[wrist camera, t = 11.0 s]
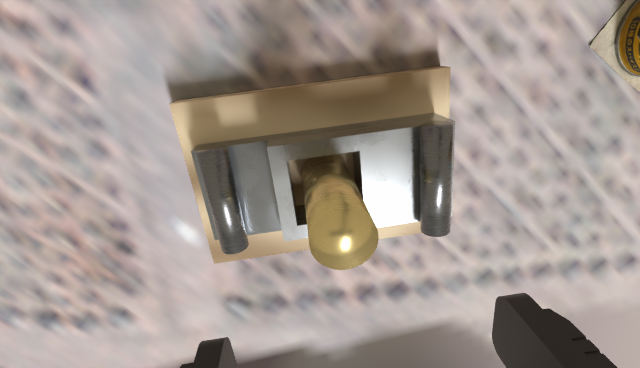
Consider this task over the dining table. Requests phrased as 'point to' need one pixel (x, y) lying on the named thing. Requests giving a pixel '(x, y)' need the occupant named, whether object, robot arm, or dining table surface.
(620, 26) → the condiment
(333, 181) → the brass pin
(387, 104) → the clamp block fixture
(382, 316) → the dining table surface
